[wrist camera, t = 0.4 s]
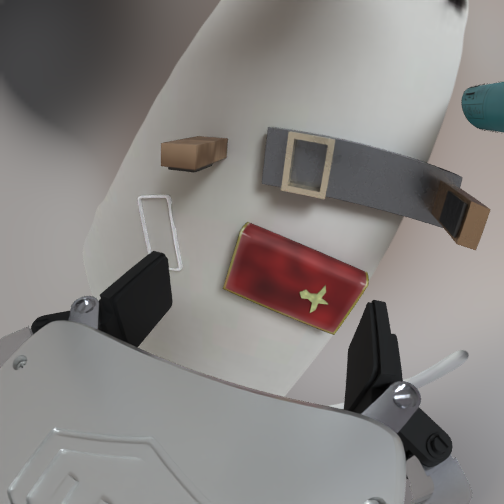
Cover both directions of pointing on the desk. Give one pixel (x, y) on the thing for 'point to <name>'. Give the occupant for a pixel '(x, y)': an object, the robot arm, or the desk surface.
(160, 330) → the desk surface
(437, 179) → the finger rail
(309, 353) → the desk surface
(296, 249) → the hardcover book
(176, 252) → the phone case
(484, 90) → the beverage bottle
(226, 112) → the desk surface
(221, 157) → the walnut block
